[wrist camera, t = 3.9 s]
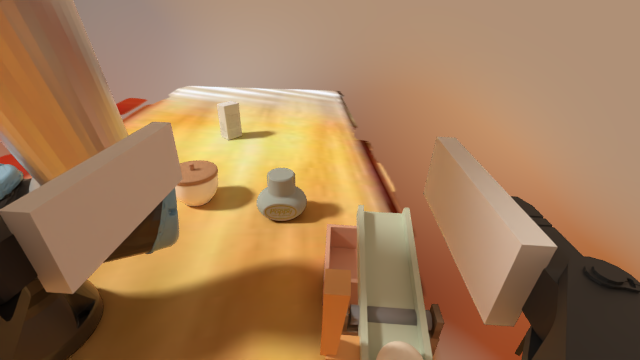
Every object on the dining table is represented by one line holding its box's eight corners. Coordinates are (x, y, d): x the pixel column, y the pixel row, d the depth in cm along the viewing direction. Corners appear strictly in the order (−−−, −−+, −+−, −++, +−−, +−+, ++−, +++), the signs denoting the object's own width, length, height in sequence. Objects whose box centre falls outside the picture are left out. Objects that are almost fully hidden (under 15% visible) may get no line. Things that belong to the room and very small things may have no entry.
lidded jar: (228, 189, 75) (223, 156, 71) (209, 214, 66) (202, 177, 61) (188, 186, 76) (181, 152, 72) (163, 209, 67) (153, 172, 62)
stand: (427, 438, 32) (464, 356, 25) (325, 429, 33) (332, 345, 25) (411, 362, 39) (437, 281, 32) (327, 355, 40) (334, 273, 32)
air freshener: (255, 223, 64) (251, 183, 59) (260, 202, 71) (257, 164, 66) (306, 223, 64) (307, 183, 59) (306, 202, 71) (307, 165, 67)
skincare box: (234, 133, 110) (231, 100, 104) (242, 136, 108) (239, 102, 102) (220, 137, 106) (216, 103, 100) (228, 140, 104) (224, 106, 98)
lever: (431, 421, 27) (560, 401, 13) (317, 410, 27) (318, 381, 13) (405, 231, 39) (455, 117, 25) (328, 226, 40) (334, 111, 26)
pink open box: (409, 311, 46) (416, 286, 43) (322, 305, 46) (323, 280, 44) (395, 251, 58) (399, 228, 55) (325, 246, 58) (327, 224, 55)
